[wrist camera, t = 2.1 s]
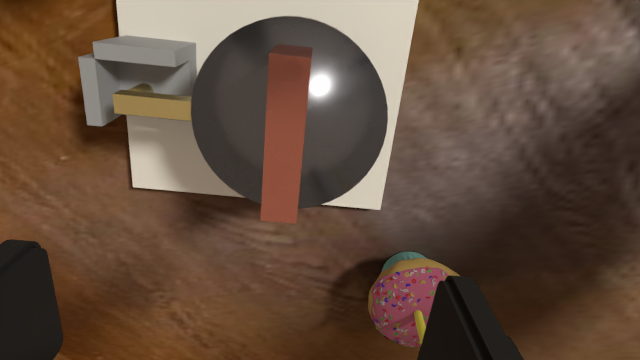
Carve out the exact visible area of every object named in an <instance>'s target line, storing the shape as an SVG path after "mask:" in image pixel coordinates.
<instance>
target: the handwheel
mask: <svg viewBox="0 0 640 360" xmlns="http://www.w3.org/2000/svg"><path fill="white" fill-rule="evenodd" d="M113 104H114V113H117V114H127V115H137V116H147V117H157V118H167V119H177V120H187V121H192V127H193V132H194V136H195V139H196V142H197V145H198V147H199V150H200V151H201V153H202V155H203V157H204V159H205V161H206V162H207V164H208V165H209V167H210V168H211V169H212V171H213V172H214V173H215V174H216V175H217V176H218V177H219V179H221V180H222V181H223V182H224V183H225V184H226V185H227V186H228V187H230V188H231V189H233V190H234V191H235V192H237V193H238V194H240V195H242V196H244V197H246V198H248V199H250V200H252V201H255V202H257V203H260V204H261V220H262V221H273V222H285V223H296V222H297V212H298V209H299V208H309V207H313V206H318V205H321V204H324V203H327V202H330V201H332V200H334V199H336V198H338V197H340V196H342V195H343V194H345V193H347V192H348V191H350V190H351V189H352V188H353V187H355V186H356V185H357V184H358V183H359V182H360V181H361V180H362V179H363V178H364V177H365V176H366V175H367V174H368V172H369V171H370V169H371V168H372V167H373V165H374V164H375V162H376V160H377V158H378V156H379V154H380V152H381V149H382V147H383V144H384V140H385V136H386V132H387V123H388V107H387V101H386V95H385V91H384V88H383V85H382V81H381V79H380V77H379V75H378V73H377V71H376V69H375V67H374V66H373V64H372V63H371V61H370V59H369V58H368V57H367V55H366V54H365V53H364V52H363V51H362V49H361V48H360V47H359V46H358V45H357V44H356V43H355V42H354V41H353V40H352V39H351V38H349V37H348V36H347V35H346V34H344V33H343V32H341V31H340V30H338V29H337V28H335V27H333V26H331V25H328V24H326V23H324V22H321V21H318V20H315V19H312V18H307V17H301V16H276V17H270V18H266V19H262V20H258V21H256V22H253V23H251V24H248V25H246V26H244V27H242V28H240V29H238V30H236V31H235V32H233V33H231V34H230V35H229V36H227V37H226V38H225V39H224V40H222V41H221V42H220V43H219V44H218V45H217V46H216V47H215V48H214V50H213V51H212V52H211V53H210V54H209V56H208V57H207V59H206V60H205V62H204V63H203V65H202V67H201V69H200V71H199V73H198V75H197V78H196V81H195V84H194V88H193V93H192V97H189V96H179V95H169V94H159V93H154V91H153V88H152V87H151V86H150V85H149V84H146V83H141V84H138V85H136V86H134V87H132V88H130V89H128V90H119V91H117V92H115V93H113Z"/></svg>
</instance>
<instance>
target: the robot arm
mask: <svg viewBox="0 0 640 360" xmlns="http://www.w3.org/2000/svg"><path fill="white" fill-rule="evenodd" d="M62 342H63V333H62V327H61V322H60V317H59V312H58V306H57V301H56V296H55V291H54V286H53V280H52V275H51V270H50V265H49V259H48V254H47V251H46V250H45V249H43V248H41V247H40V245H39V244H38V243H37V242H35V241H23V240H6V241H4V242H3V243H1V244H0V360H53V359H54V357H55V356H56V355H57V353H58V352H59V350H60V348H61V345H62ZM417 360H524V359H523V358H522V356H521V354H520V352H519V351H518V349H517V347H516V345H515V344H514V342H513V341H512V340H511V338H509V337H508V336H506V334H505V333H504V331H503V329H502V327H501V325H500V324H499V322H498V320H497V318H496V317H495V315H494V313H493V311H492V310H491V308H490V306H489V304H488V302H487V301H486V299H485V297H484V295H483V294H482V292H481V290H480V288H479V287H478V285H477V283H476V281H475V280H474V279H473V278H472V277H465V276H453V275H449V276H447V277H446V279H445V281H439V283H438V285H437V289H436V292H435V296H434V300H433V303H432V307H431V311H430V314H429V318H428V322H427V325H426V329H425V333H424V336H423V340H422V344H421V348H420V351H419V355H418V359H417Z"/></svg>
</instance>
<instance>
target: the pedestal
mask: <svg viewBox="0 0 640 360" xmlns="http://www.w3.org/2000/svg"><path fill="white" fill-rule="evenodd" d="M418 1H419V0H116V5H117V16H118V27H119V37H115V38H110V39H105V40H100V41H95V42H93V49H94V53H92V54H88V55H84V56H80V57H78V59H79V66H80V74H81V82H82V89H83V97H84V105H85V112H86V120H87V125H92V126H104V125H106V124H107V123H109V122H111V121H113V120H114V119H116V118H118V117H119V116H121V115H127V114H117V113H114V104H113V93H115V92H117V91H119V90H128V89H130V88H132V87H134V86H136V85H138V84H141V83H146V84H149V85H150V86H151V87H152V88H153V91H154V93H159V94H169V95H179V96H189V97H192V93H193V88H194V84H195V81H196V78H197V75H198V73H199V71H200V69H201V67H202V65H203V63H204V62H205V60H206V59H207V57H208V56H209V54H210V53H211V52H212V51H213V50H214V48H215V47H216V46H217V45H218V44H219V43H220V42H221V41H222V40H224V39H225V38H226V37H227V36H229V35H230V34H231V33H233V32H235V31H236V30H238V29H240V28H242V27H244V26H246V25H248V24H251V23H253V22H256V21H258V20H262V19H266V18H270V17H276V16H301V17H307V18H312V19H315V20H318V21H321V22H324V23H326V24H328V25H331V26H333V27H335V28H337V29H338V30H340V31H341V32H343V33H344V34H346V35H347V36H348V37H349V38H351V39H352V40H353V41H354V42H355V43H356V44H357V45H358V46H359V47H360V48H361V49H362V51H363V52H364V53H365V54H366V55H367V57H368V58H369V59H370V61H371V63H372V64H373V66H374V67H375V69H376V71H377V73H378V75H379V77H380V79H381V81H382V85H383V88H384V91H385V95H386V101H387V107H388V123H387V132H386V136H385V140H384V144H383V147H382V149H381V152H380V154H379V156H378V158H377V160H376V162H375V164H374V165H373V167H372V168H371V169H370V171H369V172H368V174H367V175H366V176H365V177H364V178H363V179H362V180H361V181H360V182H359V183H358V184H357V185H356V186H355V187H353V188H352V189H351V190H350V191H348V192H347V193H345V194H343V195H342V196H340V197H338V198H336V199H334V200H332V201H330V202H327V203H324V204H321V205H332V206H343V207H354V208H365V209H376V210H380V208H381V202H382V197H383V192H384V186H385V181H386V175H387V170H388V164H389V159H390V154H391V148H392V143H393V137H394V132H395V126H396V121H397V116H398V110H399V105H400V99H401V94H402V88H403V83H404V77H405V72H406V67H407V61H408V56H409V50H410V45H411V39H412V34H413V29H414V23H415V18H416V12H417V7H418ZM127 126H128V138H129V149H130V160H131V171H132V182H133V187H136V188H147V189H158V190H169V191H180V192H191V193H202V194H213V195H223V196H234V197H244V196H242V195H240V194H238V193H237V192H235V191H234V190H233V189H231V188H230V187H228V186H227V185H226V184H225V183H224V182H223V181H222V180H221V179H219V177H218V176H217V175H216V174H215V173H214V172H213V171H212V169H211V168H210V167H209V165H208V164H207V162H206V161H205V159H204V157H203V155H202V153H201V151H200V150H199V147H198V145H197V142H196V139H195V136H194V132H193V127H192V121H187V120H177V119H167V118H157V117H147V116H137V115H127ZM245 198H246V197H245Z"/></svg>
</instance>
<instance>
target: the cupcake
mask: <svg viewBox="0 0 640 360" xmlns="http://www.w3.org/2000/svg"><path fill="white" fill-rule="evenodd" d="M449 275H453V276H460V275H459V274H457V273H456V272H454V271H452V270H451V269H450V268H448V267H446V266H444V265H442V264H440V263H438V262H436V261H433V260H430V259H427V258H426V257H424V256H423V255H421V254H419V253H416V252H401V253H398V254H396V255H394V256H392V257H391V258H389V259H388V260H387V261H386V263H385V264H384V266H383V268H382V272H381V274H380V275H379V277H378V279H377V280H376V282H375V283H374V284H373V286H372V287H371V289H370V291H369V297H368V309H369V313H370V315H371V318H372V319H373V321H374V323H375V325H376V329H377V330H378V331H379V332H381V333H382V335H384V337H386V338H387V339H391V340H392V341H393V342H395V343H398V344H401V345H404V346H405V347H408V346H410V347H412V348H413V346H421V344H422V340H423V336H424V333H425V329H426V325H427V322H428V318H429V314H430V311H431V307H432V303H433V300H434V296H435V292H436V289H437V285H438V283H439V281H445V279H446V277H447V276H449Z"/></svg>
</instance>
